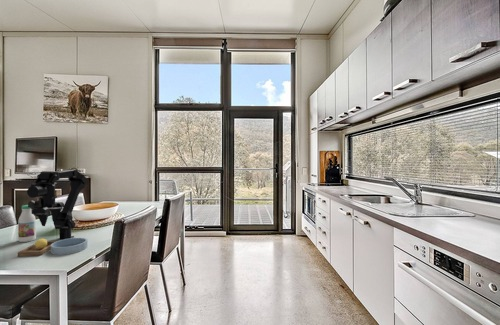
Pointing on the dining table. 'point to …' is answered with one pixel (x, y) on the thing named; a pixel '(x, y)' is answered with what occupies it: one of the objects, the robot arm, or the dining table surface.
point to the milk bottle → (26, 225)
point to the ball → (40, 243)
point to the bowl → (68, 246)
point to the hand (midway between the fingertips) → (49, 223)
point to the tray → (35, 250)
